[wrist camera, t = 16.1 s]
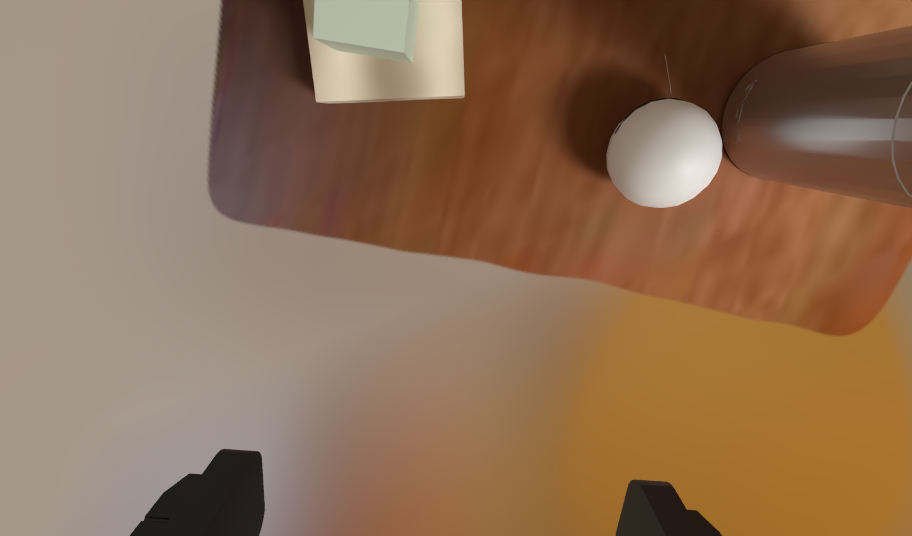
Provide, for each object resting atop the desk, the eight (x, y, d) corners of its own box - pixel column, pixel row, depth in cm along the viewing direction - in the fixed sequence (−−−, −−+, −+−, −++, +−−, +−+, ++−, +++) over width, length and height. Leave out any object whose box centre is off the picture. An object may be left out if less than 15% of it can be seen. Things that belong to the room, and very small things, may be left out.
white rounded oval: (679, 201, 36) (732, 221, 29) (586, 195, 36) (617, 214, 29) (709, 65, 33) (776, 50, 26) (608, 58, 33) (648, 41, 26)
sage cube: (422, -24, 28) (414, -53, 23) (412, 63, 30) (403, 52, 25) (341, -38, 28) (317, -70, 23) (336, 50, 29) (312, 37, 25)
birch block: (458, -58, 31) (458, -83, 27) (463, 98, 34) (464, 95, 30) (313, -51, 31) (293, -75, 27) (331, 103, 34) (316, 102, 30)
